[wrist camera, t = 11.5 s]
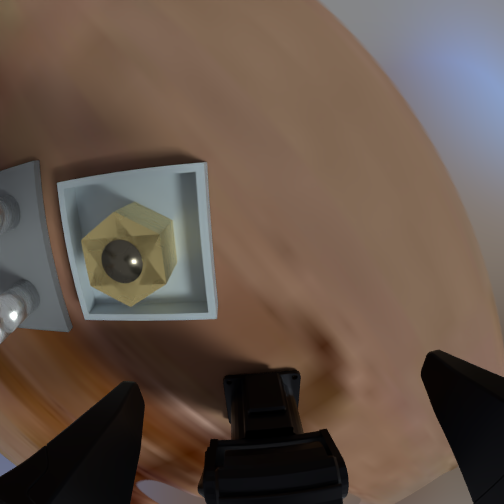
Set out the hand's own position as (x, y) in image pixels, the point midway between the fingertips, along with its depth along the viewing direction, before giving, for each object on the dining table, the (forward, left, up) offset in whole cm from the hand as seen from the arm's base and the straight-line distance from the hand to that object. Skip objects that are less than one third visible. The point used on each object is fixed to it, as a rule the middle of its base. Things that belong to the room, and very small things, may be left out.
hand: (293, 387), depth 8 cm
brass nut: (+1, +8, -13) cm, 15 cm away
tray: (+1, +8, -13) cm, 15 cm away
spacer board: (+1, +23, -13) cm, 26 cm away
